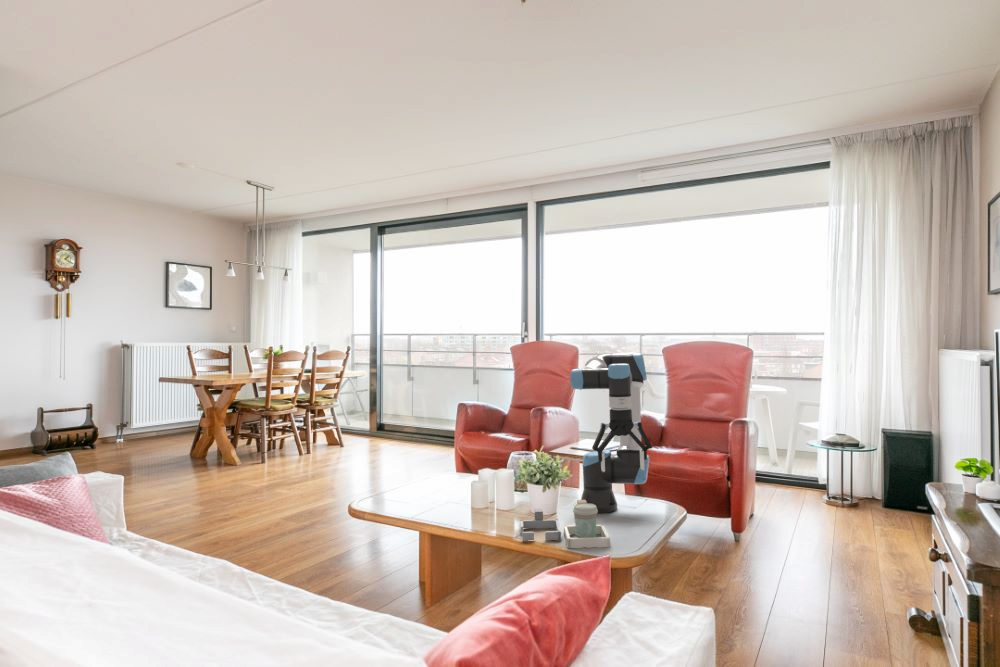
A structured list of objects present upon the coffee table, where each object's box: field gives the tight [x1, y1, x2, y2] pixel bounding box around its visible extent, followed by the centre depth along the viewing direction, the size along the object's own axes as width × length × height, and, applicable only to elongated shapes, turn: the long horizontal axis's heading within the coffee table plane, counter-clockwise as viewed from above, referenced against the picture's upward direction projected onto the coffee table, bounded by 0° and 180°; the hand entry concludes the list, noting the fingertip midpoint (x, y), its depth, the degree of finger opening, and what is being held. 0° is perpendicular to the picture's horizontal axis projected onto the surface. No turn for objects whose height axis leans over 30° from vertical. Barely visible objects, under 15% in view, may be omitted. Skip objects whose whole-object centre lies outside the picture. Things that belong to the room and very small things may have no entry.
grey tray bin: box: [563, 499, 611, 549], centre depth 208 cm, size 19×14×11 cm
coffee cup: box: [572, 503, 599, 538], centre depth 206 cm, size 9×9×12 cm
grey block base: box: [519, 508, 563, 542], centre depth 216 cm, size 19×14×6 cm
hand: (622, 470), depth 206 cm, fingers open, 13 cm apart
